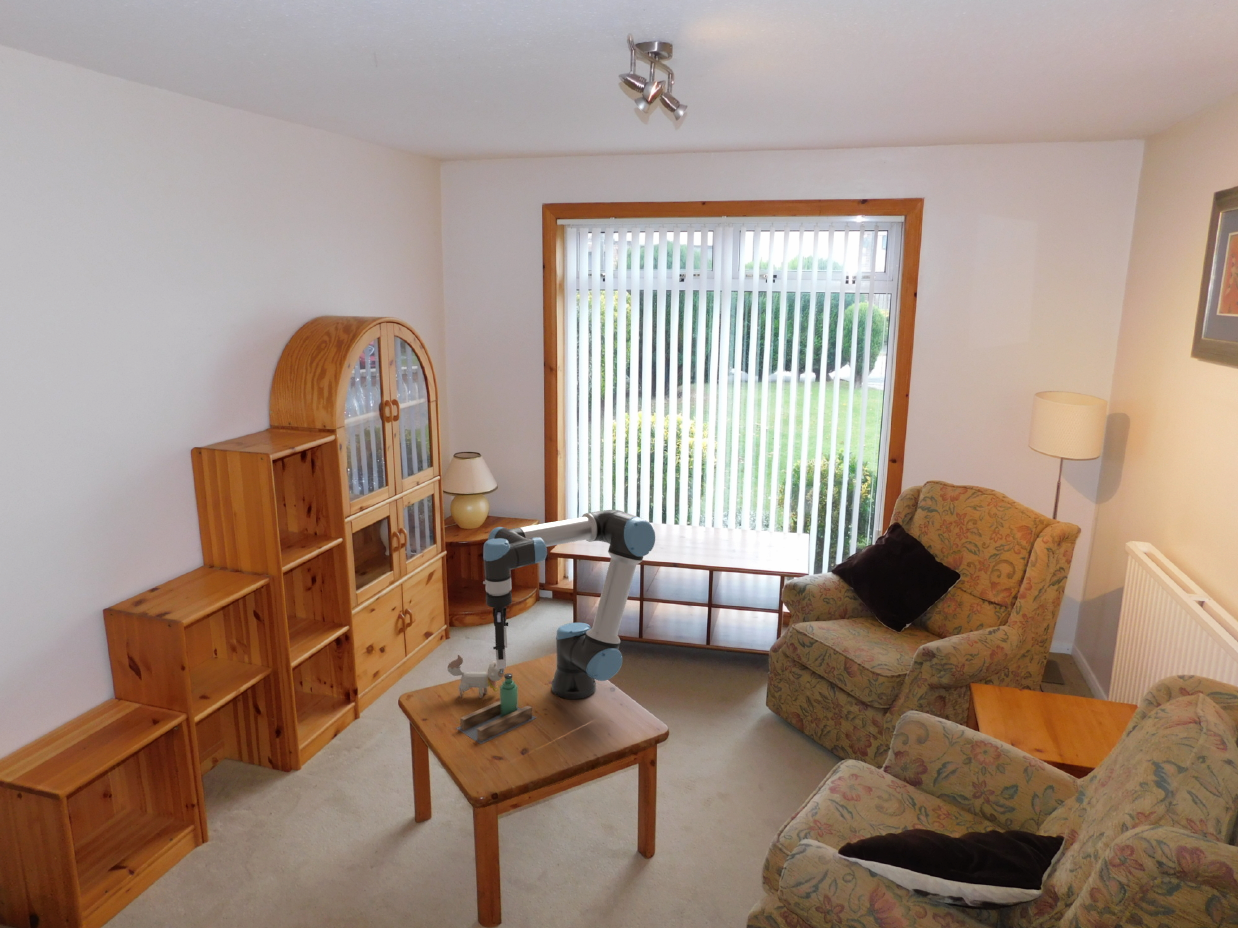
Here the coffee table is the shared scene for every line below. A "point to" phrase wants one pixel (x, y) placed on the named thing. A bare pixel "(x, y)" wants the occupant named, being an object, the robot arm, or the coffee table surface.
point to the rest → (498, 724)
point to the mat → (473, 730)
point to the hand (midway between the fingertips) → (502, 657)
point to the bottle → (508, 696)
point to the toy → (476, 677)
